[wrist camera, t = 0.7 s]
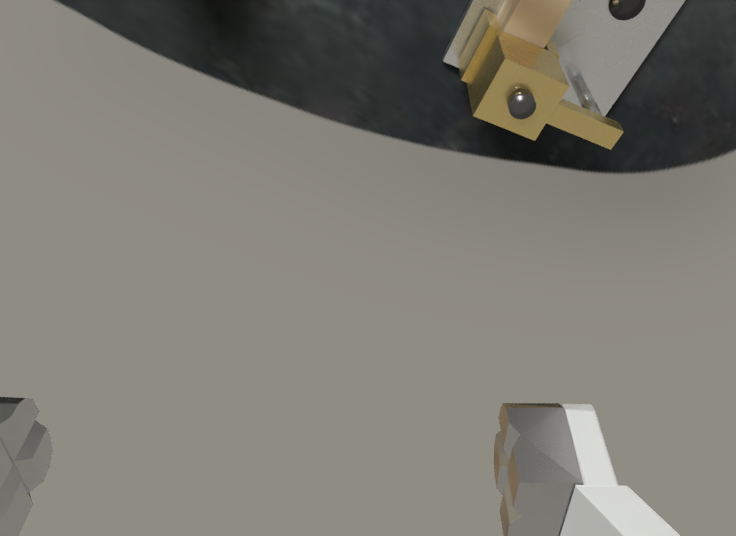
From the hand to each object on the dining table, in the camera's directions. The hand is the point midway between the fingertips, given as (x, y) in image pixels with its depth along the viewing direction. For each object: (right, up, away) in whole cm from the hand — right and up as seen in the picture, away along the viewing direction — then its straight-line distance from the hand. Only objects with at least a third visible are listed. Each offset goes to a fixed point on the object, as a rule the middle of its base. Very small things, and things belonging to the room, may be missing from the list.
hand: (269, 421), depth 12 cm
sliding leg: (+13, +17, +37) cm, 43 cm away
